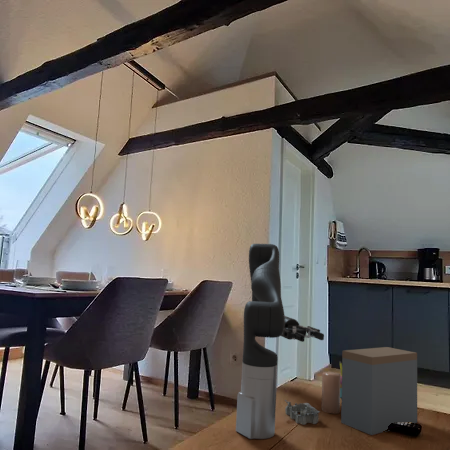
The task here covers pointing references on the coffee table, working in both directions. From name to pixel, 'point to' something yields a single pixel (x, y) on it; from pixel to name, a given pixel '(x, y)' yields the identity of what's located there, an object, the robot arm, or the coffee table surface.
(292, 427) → the coffee table surface
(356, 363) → the counter
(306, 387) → the coffee table surface
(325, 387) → the pinkish-brown cylinder
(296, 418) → the egg carton
